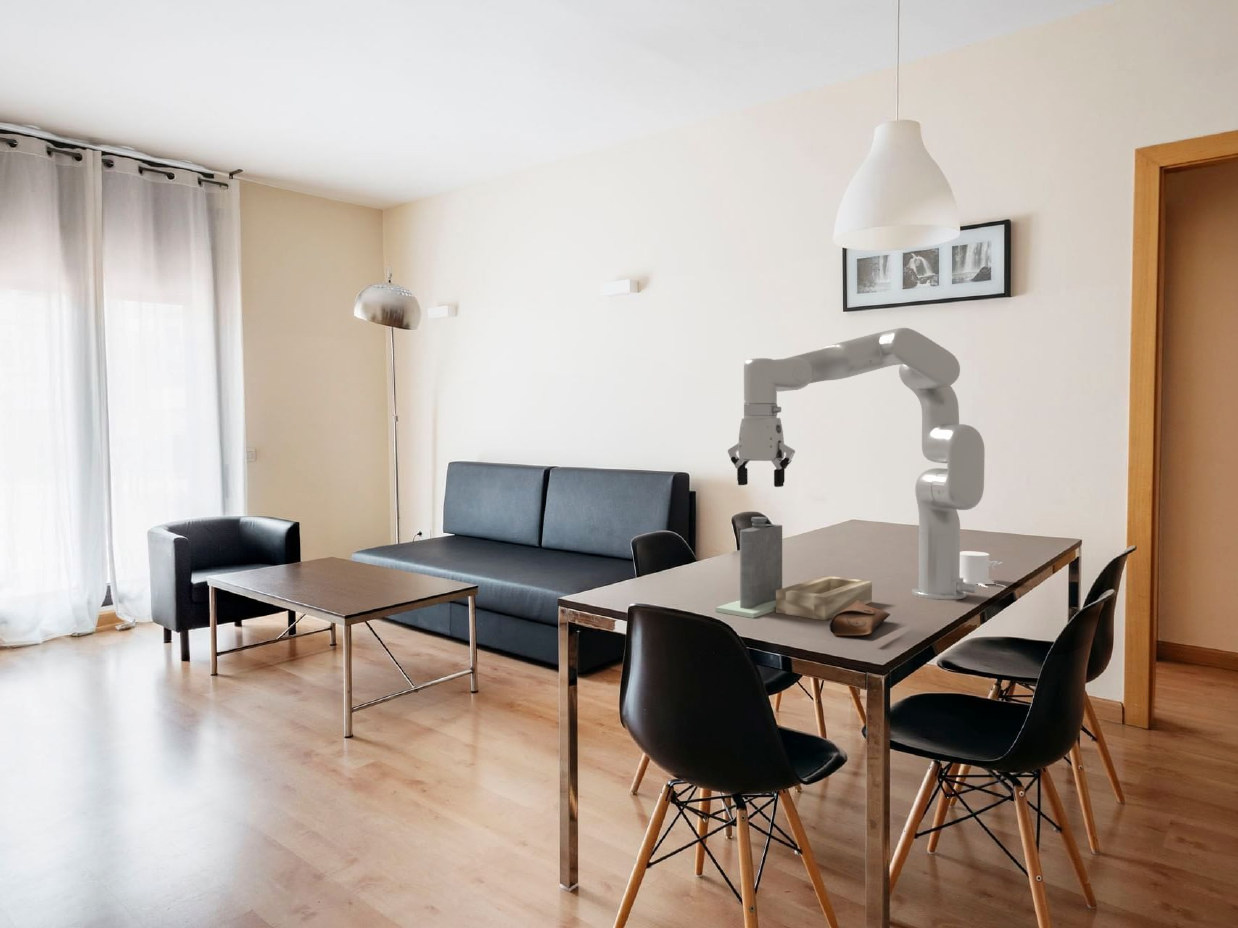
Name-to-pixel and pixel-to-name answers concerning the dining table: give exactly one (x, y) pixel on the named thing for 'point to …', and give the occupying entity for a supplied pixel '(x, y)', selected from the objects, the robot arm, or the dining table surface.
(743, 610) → the mat
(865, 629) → the sunglasses case
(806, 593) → the beige open box
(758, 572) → the hip flask
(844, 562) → the dining table surface
